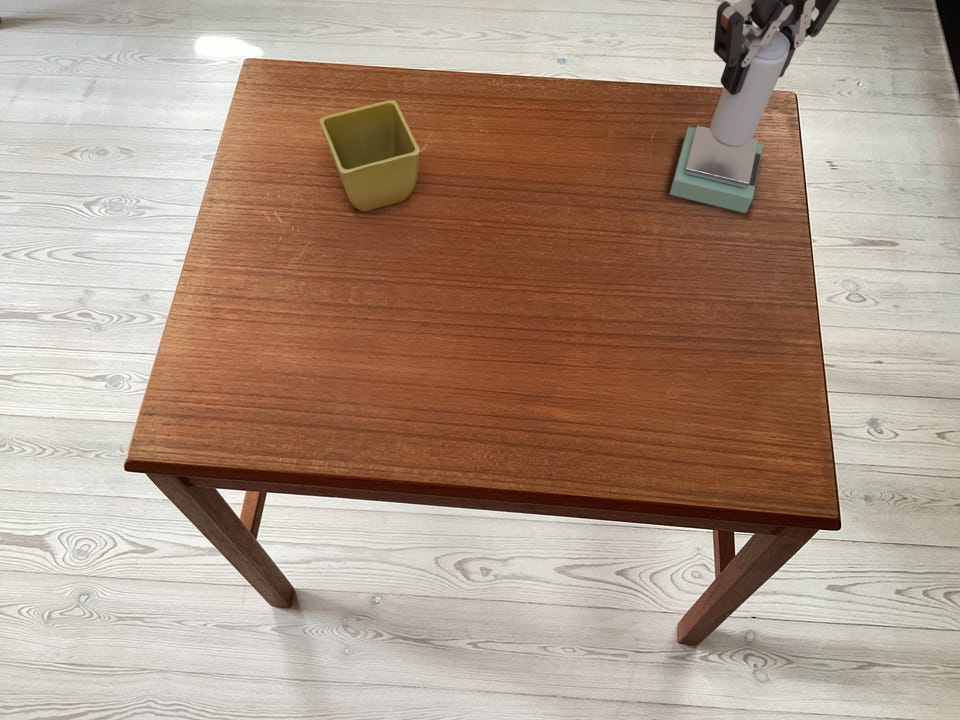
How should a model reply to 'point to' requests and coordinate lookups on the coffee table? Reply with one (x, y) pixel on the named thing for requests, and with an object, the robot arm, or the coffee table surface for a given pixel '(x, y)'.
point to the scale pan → (720, 159)
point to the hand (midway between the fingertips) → (751, 80)
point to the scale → (712, 183)
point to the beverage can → (750, 94)
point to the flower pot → (373, 154)
